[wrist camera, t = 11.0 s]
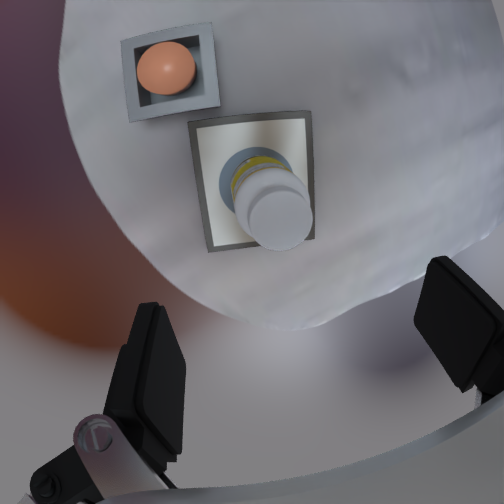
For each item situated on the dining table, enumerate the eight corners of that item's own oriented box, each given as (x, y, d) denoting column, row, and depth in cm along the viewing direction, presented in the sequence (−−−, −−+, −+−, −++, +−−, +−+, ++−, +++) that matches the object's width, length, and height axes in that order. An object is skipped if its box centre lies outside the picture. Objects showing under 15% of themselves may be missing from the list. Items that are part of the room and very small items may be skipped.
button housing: (213, 37, 20) (211, 21, 16) (220, 106, 24) (220, 105, 19) (137, 51, 20) (120, 40, 15) (145, 119, 23) (129, 122, 19)
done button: (194, 45, 18) (190, 36, 15) (199, 91, 20) (196, 88, 17) (145, 55, 18) (134, 48, 15) (149, 100, 20) (140, 99, 17)
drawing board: (307, 110, 24) (312, 111, 23) (311, 235, 31) (315, 240, 29) (188, 121, 24) (187, 122, 23) (208, 248, 30) (208, 254, 29)
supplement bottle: (289, 207, 28) (321, 257, 19) (233, 212, 27) (239, 266, 19) (288, 151, 25) (324, 177, 16) (227, 156, 25) (232, 184, 16)
